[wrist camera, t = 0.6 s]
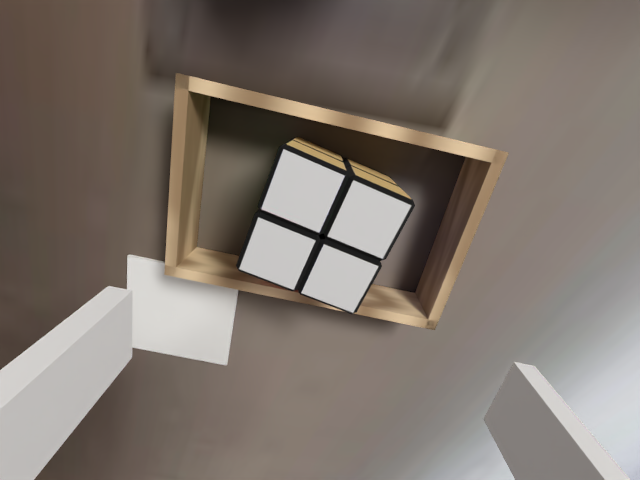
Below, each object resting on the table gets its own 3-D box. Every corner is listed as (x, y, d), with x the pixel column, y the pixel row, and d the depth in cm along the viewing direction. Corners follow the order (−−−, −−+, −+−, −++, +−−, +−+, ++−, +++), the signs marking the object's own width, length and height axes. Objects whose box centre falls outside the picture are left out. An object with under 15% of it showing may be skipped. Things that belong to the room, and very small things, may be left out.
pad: (128, 344, 39) (126, 346, 38) (129, 254, 35) (127, 255, 34) (227, 363, 39) (226, 365, 39) (240, 277, 35) (239, 279, 35)
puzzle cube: (348, 263, 35) (355, 318, 25) (259, 228, 33) (232, 271, 24) (391, 177, 31) (418, 202, 22) (294, 134, 30) (279, 142, 21)
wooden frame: (186, 253, 34) (164, 274, 30) (200, 80, 28) (175, 72, 24) (420, 302, 36) (434, 330, 31) (480, 147, 30) (508, 152, 25)
